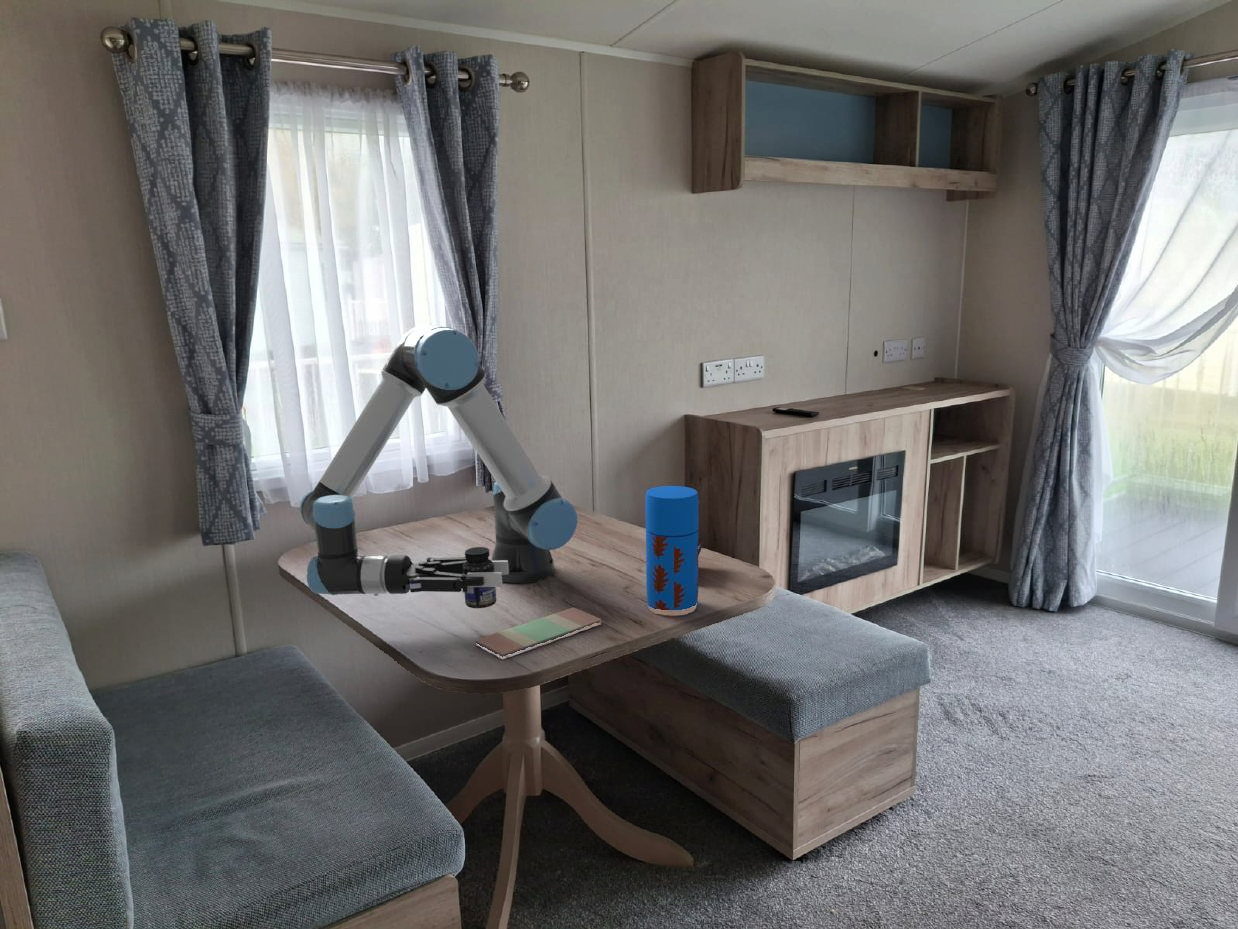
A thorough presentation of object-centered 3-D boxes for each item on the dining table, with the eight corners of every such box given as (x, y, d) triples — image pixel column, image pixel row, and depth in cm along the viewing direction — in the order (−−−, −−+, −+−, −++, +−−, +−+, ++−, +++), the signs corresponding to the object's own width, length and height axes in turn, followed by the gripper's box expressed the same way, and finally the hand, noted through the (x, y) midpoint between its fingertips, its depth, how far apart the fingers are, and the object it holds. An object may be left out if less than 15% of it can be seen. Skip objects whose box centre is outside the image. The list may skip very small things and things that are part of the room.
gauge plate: (475, 645, 172) (475, 639, 172) (573, 612, 187) (573, 607, 187) (502, 660, 165) (502, 654, 165) (601, 624, 181) (601, 619, 181)
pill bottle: (498, 597, 181) (494, 544, 178) (495, 608, 175) (491, 554, 172) (467, 598, 180) (463, 546, 178) (463, 610, 174) (459, 556, 172)
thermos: (667, 594, 197) (666, 483, 192) (707, 605, 190) (708, 490, 185) (636, 609, 189) (634, 493, 184) (677, 621, 182) (677, 501, 177)
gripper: (404, 575, 187) (514, 574, 186) (374, 611, 169) (496, 610, 167) (401, 541, 186) (512, 539, 184) (371, 573, 167) (494, 571, 166)
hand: (504, 573), depth 176 cm, fingers closed on pill bottle, 6 cm apart
